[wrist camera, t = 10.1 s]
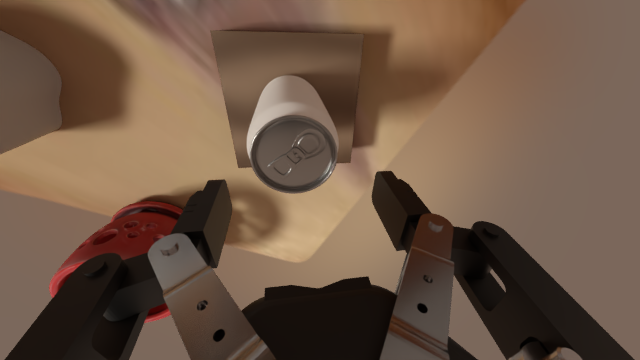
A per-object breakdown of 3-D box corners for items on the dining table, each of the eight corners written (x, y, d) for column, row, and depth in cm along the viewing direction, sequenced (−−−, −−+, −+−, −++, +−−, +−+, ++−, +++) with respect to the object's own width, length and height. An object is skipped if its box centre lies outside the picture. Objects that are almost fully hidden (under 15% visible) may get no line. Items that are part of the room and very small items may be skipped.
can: (331, 109, 25) (362, 160, 15) (289, 145, 27) (292, 212, 17) (291, 59, 22) (297, 82, 12) (246, 104, 24) (219, 156, 14)
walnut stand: (220, 30, 23) (210, 30, 20) (353, 33, 25) (364, 34, 22) (243, 153, 31) (238, 167, 28) (343, 149, 33) (350, 162, 29)
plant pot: (166, 262, 41) (129, 337, 31) (94, 216, 34) (14, 295, 24) (226, 232, 39) (207, 302, 29) (162, 176, 32) (106, 244, 22)
